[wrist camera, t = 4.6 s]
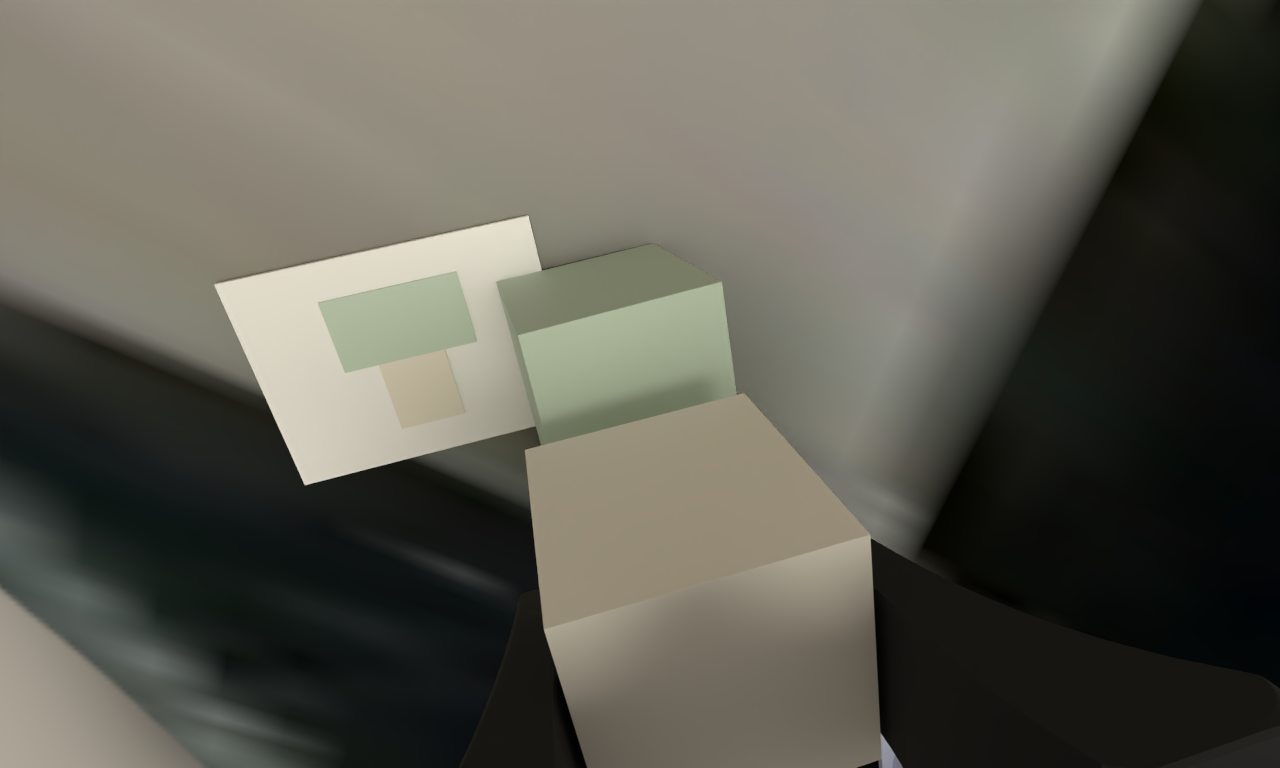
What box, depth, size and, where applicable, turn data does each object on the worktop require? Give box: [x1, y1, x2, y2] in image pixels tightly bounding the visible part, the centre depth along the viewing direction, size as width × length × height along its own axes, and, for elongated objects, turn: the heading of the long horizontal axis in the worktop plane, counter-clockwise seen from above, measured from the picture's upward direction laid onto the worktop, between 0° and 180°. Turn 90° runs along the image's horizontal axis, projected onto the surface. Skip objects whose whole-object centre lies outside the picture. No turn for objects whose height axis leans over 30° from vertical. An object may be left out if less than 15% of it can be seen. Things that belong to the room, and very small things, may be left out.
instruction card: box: [214, 215, 542, 485], centre depth 19 cm, size 6×8×1 cm
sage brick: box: [496, 243, 737, 446], centre depth 18 cm, size 9×4×5 cm, turn 10°
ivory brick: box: [525, 393, 882, 768], centre depth 12 cm, size 4×4×5 cm
